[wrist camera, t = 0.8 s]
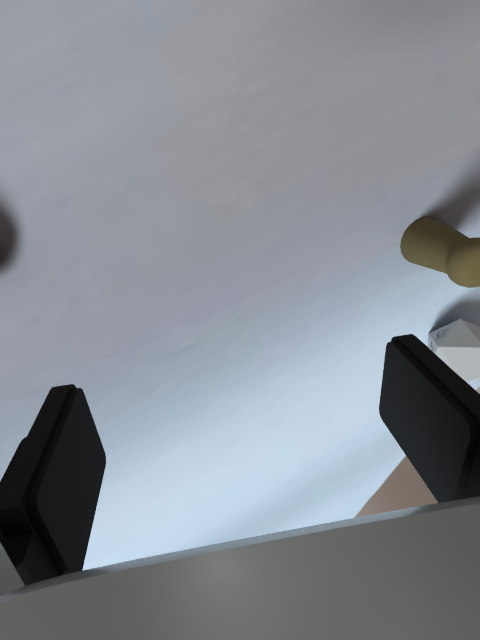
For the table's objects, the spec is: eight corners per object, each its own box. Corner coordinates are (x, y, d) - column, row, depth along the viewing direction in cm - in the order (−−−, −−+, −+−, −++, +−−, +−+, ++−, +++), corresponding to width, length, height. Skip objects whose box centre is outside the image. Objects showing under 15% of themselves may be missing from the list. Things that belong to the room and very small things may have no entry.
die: (437, 300, 53) (433, 354, 47) (507, 312, 50) (513, 370, 45) (422, 337, 59) (418, 388, 53) (485, 349, 56) (487, 404, 51)
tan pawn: (418, 272, 50) (475, 306, 40) (391, 244, 48) (445, 272, 38) (454, 237, 48) (523, 263, 39) (428, 206, 46) (494, 225, 36)
